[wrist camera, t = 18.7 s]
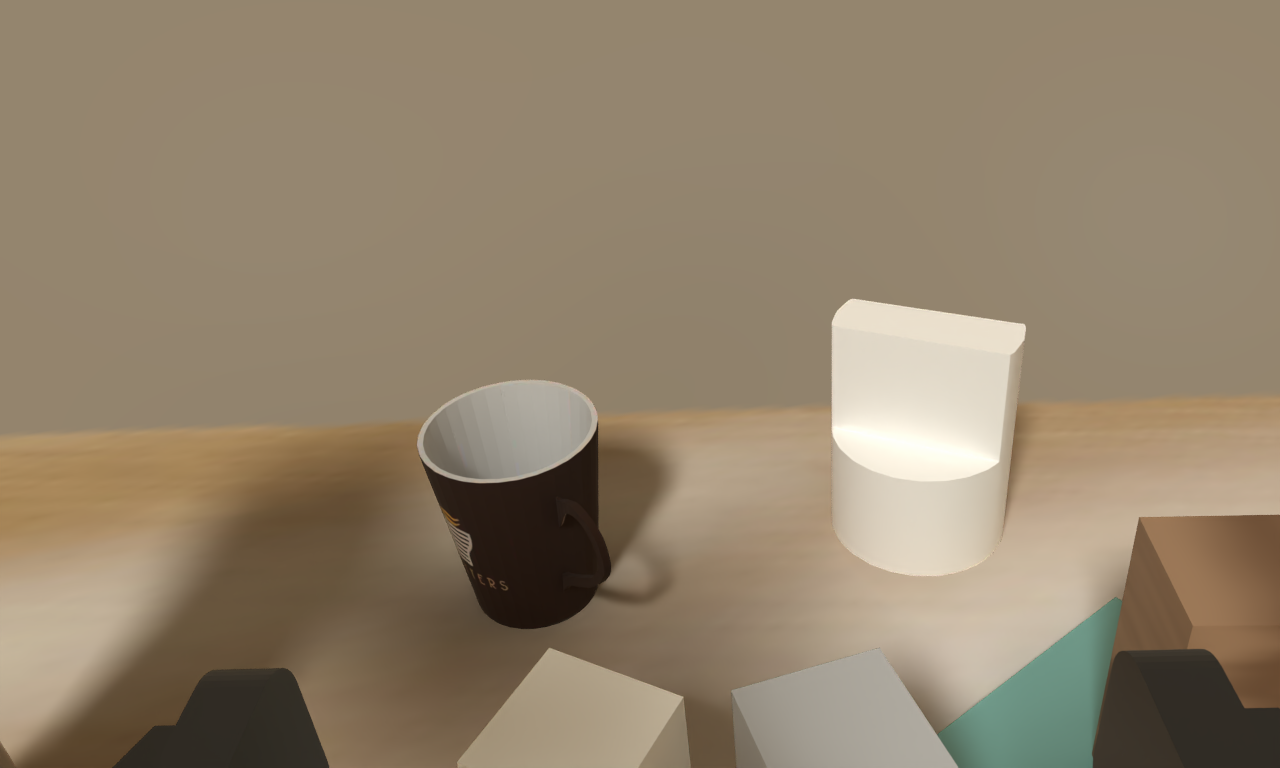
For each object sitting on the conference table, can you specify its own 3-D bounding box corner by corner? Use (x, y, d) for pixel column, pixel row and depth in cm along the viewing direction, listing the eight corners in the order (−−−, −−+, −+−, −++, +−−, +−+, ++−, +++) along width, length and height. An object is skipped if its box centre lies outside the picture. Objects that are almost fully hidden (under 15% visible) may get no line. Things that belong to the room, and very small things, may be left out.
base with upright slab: (1019, 490, 58) (1043, 297, 51) (980, 596, 51) (1002, 389, 45) (861, 455, 62) (865, 272, 56) (807, 549, 55) (804, 354, 49)
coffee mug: (455, 546, 58) (418, 395, 53) (608, 519, 59) (586, 368, 54) (457, 707, 48) (412, 541, 43) (641, 672, 49) (618, 505, 44)
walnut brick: (1130, 871, 37) (1192, 625, 31) (1091, 754, 41) (1138, 517, 35) (1281, 874, 36) (1376, 625, 30) (1226, 755, 41) (1298, 514, 34)
